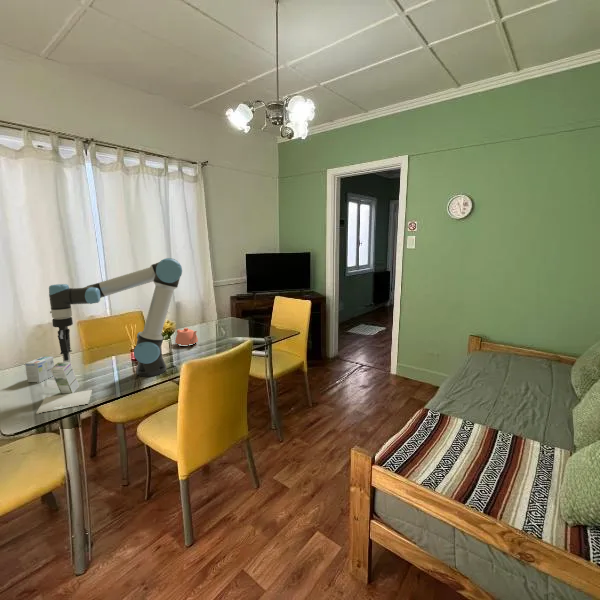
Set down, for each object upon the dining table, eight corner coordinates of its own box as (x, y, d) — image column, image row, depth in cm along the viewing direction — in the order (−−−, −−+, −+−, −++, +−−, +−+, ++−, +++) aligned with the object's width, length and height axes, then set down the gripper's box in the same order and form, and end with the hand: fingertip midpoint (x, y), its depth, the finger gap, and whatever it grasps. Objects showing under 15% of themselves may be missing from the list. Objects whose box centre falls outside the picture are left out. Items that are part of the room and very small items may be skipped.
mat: (92, 390, 155) (91, 389, 155) (88, 404, 141) (88, 403, 141) (45, 398, 147) (45, 397, 146) (36, 414, 133) (36, 413, 132)
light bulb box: (44, 375, 175) (41, 356, 173) (56, 375, 175) (53, 356, 173) (27, 383, 165) (24, 363, 163) (39, 383, 164) (37, 363, 163)
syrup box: (80, 385, 157) (70, 361, 150) (72, 394, 151) (62, 369, 145) (68, 386, 157) (58, 361, 150) (60, 394, 151) (49, 369, 145)
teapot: (206, 344, 231) (205, 328, 229) (188, 350, 219) (187, 332, 217) (186, 340, 243) (185, 324, 241) (169, 345, 231) (167, 328, 229)
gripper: (55, 315, 153) (60, 363, 157) (48, 321, 142) (54, 372, 145) (74, 314, 157) (79, 360, 160) (69, 319, 145) (74, 369, 149)
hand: (67, 366), depth 153 cm, fingers closed
